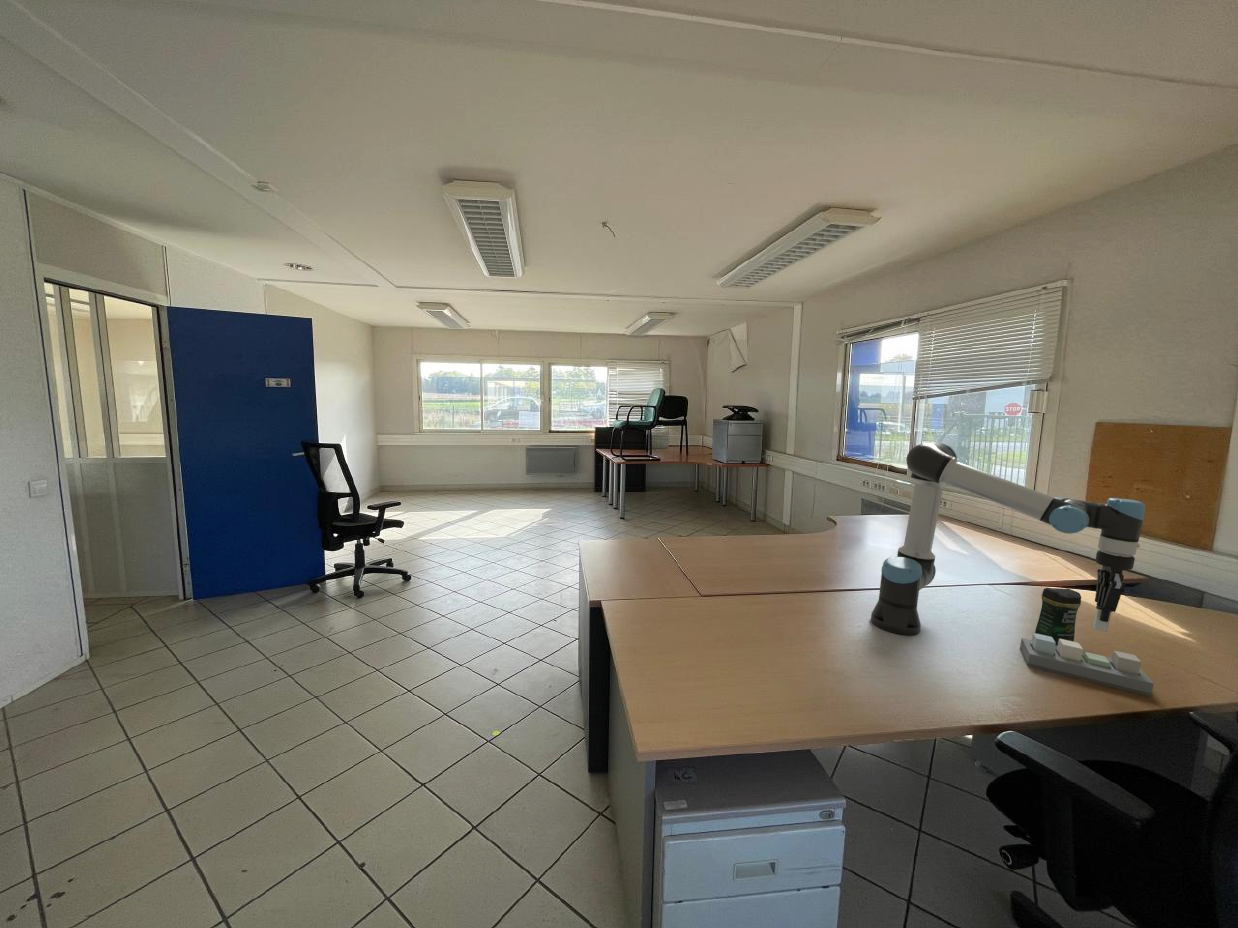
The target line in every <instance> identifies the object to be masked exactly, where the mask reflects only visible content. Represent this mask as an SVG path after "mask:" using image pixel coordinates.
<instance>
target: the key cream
mask: <svg viewBox="0 0 1238 928" xmlns="http://www.w3.org/2000/svg"><path fill="white" fill-rule="evenodd" d="M1082 651H1083V652H1084V648H1083V647H1082V646H1081V644H1080V643H1079V642H1076V641H1074V642H1073V641H1068V640H1064V639H1059V641H1058V647H1057V652H1058V653H1059V655H1060V657H1063V658H1068V659H1072V660H1076V661H1081V657H1082Z"/></svg>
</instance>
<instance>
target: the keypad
mask: <svg viewBox="0 0 1238 928" xmlns="http://www.w3.org/2000/svg"><path fill="white" fill-rule="evenodd" d="M1031 644H1032V639H1030V638H1025V637H1021V639H1020V644H1019V645H1020V646H1019V650H1020V653H1021V655H1022V657H1023V659H1024V662H1025V663H1026V664H1025V665H1027V667H1030V668H1033V669H1037V670H1042V671H1046V672H1050V673H1053V674H1056V675H1061V676H1064V677H1065V676H1066V677H1070V678H1074V679H1077V680H1081V681H1085V682H1089V683H1094V684H1098V685H1102V686H1104V687H1105V686H1106V687H1109V688H1114V689H1118V690H1122V691H1126V692H1130V693H1134V694H1138V695H1141V696H1147V697H1150V698H1152V695H1153V694H1152V693H1153V690H1154V684H1155V683H1154V682H1153V681H1152V679H1151V678H1150V677H1149V676H1148V675H1147V674H1146V673H1145V671H1143V669H1141V667H1140V671H1139V675H1136V674H1132V673H1127V672H1123V671H1119V670H1116V669H1115V667H1114V666H1113V665H1112V664H1111V661H1112V657H1109V656H1105V657H1106V659H1107V660H1108V661H1109V663H1110V665H1109V668H1106V667H1102V666H1098V665H1093V664H1089V663H1086V661H1085V660H1084V658H1083V656H1084V652H1085V651H1084V650H1083V651H1082V657H1081V661H1076V660H1072V659H1068V658H1063V657H1060V655H1059V653H1058V652H1057V647H1058V646H1057V645H1055V650H1054V655H1051V654H1046V653H1042V652H1038V651H1034V649H1033V647H1032V645H1031Z"/></svg>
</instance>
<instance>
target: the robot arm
mask: <svg viewBox="0 0 1238 928" xmlns="http://www.w3.org/2000/svg"><path fill="white" fill-rule="evenodd" d="M906 455H907V456H906V458H905V459H906V466H907V468H908V470H909V471H910V472H911V474H910V475H911V476H910V479H911V480H912V481H913V482H914V487H913V493H912V497H911V503H910V509H909V515H908V520H907V527H906V532H905V537H904V542H903V545H902V546H900V547H898V550H897V555H896V556H894V557H893V556H891V557H887V558H886V559H885V560H884V561H883V563H882V566H881V570H880V571H881V575H880V585H879V594H878V600H877V602H876V604H875V605H874V607H873V610H872V611H871V615H870V622H871V623H872V624H873V625H875V626H876V627H878V628H880V629H882V630H884V631H886V632H890V633H893V634H895V635H902V636H916V635H918V634H919V633H921V621H920V616H919V613H918V601H919V596H920V595H919V594H920V591H921V590H922V589H924V588H925V587H927V586H928V585H929V584H931V583H932V582H933V581H934V579H935V576H936V566H935V561H936V555H935V553H933V552H932V549H933V544H934V539H935V532H936V530H937V529H936V528H937V522H938V517H939V513H940V506H941V502H942V496H943V491H944V490H943V489H944V487H946V486H947V485H950V486H953V487H955V488H958V489H960V490H963V491H964V492H967V493H970V494H973V495H975V496H977V497H980V498H982V499H984V500H988V501H990V502H993V503H994V504H997V505H999V506H1003V507H1004V508H1008V509H1010V510H1013V511H1015V512H1018V513H1019V514H1023V515H1025V516H1026V517H1027V516H1028V517H1030V518H1033V519H1035V520H1038V521H1040V522H1042V523H1045V524H1046V525H1049V526H1051V527H1052V528H1054V530H1056V531H1057V532H1059V533H1062V534H1076V533H1080V532H1081V531H1084V529H1086V528H1092V529H1096V530H1097V529H1098V530H1100V534H1099V539H1098V543H1097V549H1098V550H1097V551H1096V554H1095V559H1094V560H1095V563H1096V564H1098V565H1101V566H1102V567H1101V569H1100V568H1098V569H1097V570H1096V572H1097V580H1096V589H1095V597H1094V602H1095V603H1096V606H1095V608H1096V609H1095V610H1096V611H1095V614H1094V620H1093V625H1092V629H1093V630H1094V631H1099V632H1104V633H1108V630H1109V627H1110V626H1109V625H1110V620H1111V616H1112V612H1113V613H1115V612H1116V611H1117V608H1118V605H1119V602H1120V599H1121V597H1122V596H1121V595H1122V594H1123V591H1124V589H1125V587H1126V585H1127V584H1126V583H1125V582H1123V581H1124V578H1125V577H1124V574H1123V571H1130V570H1131V571H1132V570H1133V569H1134V565H1135V561H1136V558H1135V557H1134V556H1135V555H1136V554H1137V549H1138V548H1140V547H1141V545H1140V544H1139V540H1140V538H1141V532H1142V529H1143V525H1144V519H1145V514H1146V505H1145V503H1144V502H1142V501H1139V500H1133V499H1128V498H1119V497H1110V498H1108V499H1107V501H1106V503H1105V502H1104V503H1100V502H1099V503H1098V502H1093V501H1086V500H1079V499H1073V498H1068V497H1056V496H1051V495H1048V494H1046V493H1043V492H1039V491H1037V490H1036V489H1035V490H1034V489H1032V488H1029V487H1026V486H1024V485H1021V484H1018V483H1015V482H1013V481H1010V480H1007V479H1005V478H1002V477H1000V476H997V475H994V474H991V473H989V472H986V471H983V470H981V469H978V468H975V467H972V466H971V465H967V464H964V463H962V462H959V461H958V455H957V453H956V451H955V450H954V449H953V448H952V447H951V446H950V445H948V444H945V443H943V442H940V441H939V442H937V441H936V442H935V441H933V442H927V443H926V442H925V443H920V444H918V445H915V446H913V447H912V448H911V449H910V450H909V451H908V453H907V454H906Z"/></svg>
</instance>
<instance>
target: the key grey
mask: <svg viewBox="0 0 1238 928" xmlns="http://www.w3.org/2000/svg"><path fill="white" fill-rule="evenodd" d="M1112 651H1113V653H1112V656H1111V658H1112V661H1111V664H1112V665H1113V666H1114V667H1115V669H1116V670H1119V671H1123V672H1127V673H1132V674H1136V675H1139V671H1140V668H1141V664H1142V661H1141V660H1140V658H1138V657H1137V656H1136V655H1135V654H1131V653H1127V652H1124V651H1123V652H1122V651H1117V650H1112Z"/></svg>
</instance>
